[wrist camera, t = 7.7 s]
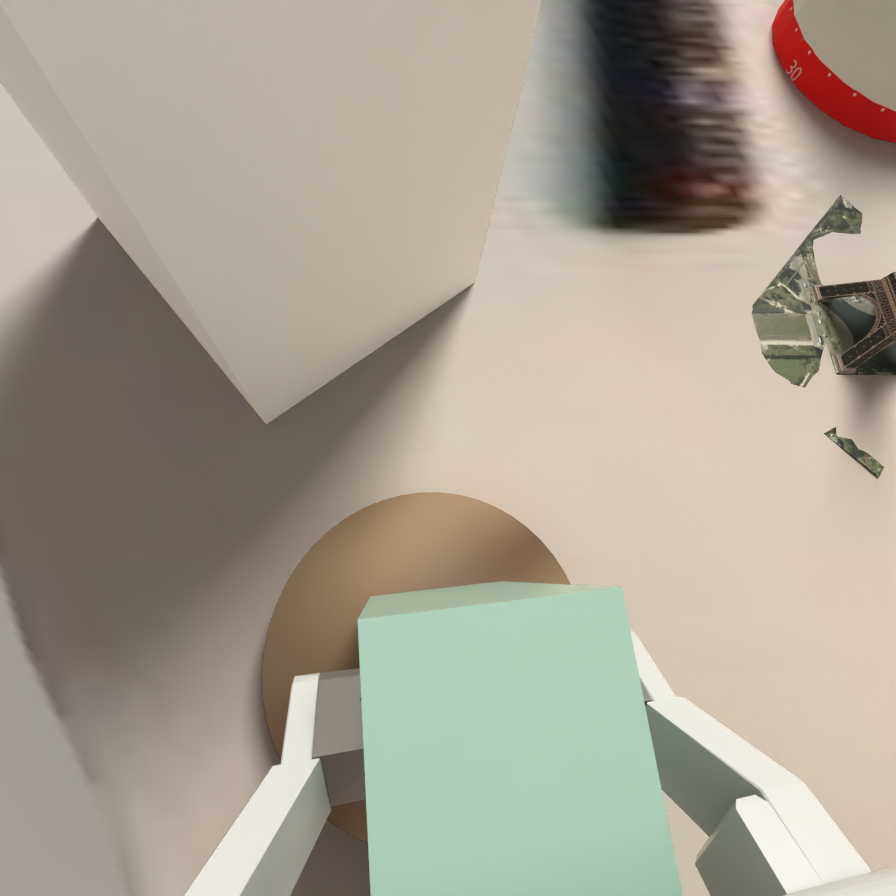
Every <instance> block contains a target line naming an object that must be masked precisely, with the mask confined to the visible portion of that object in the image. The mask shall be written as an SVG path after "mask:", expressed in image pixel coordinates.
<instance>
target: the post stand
mask: <svg viewBox="0 0 896 896" xmlns="http://www.w3.org/2000/svg"><path fill="white" fill-rule="evenodd" d="M499 581H506V582H526V583H546V584H566V585H571V584H570V582H569V580H568V578H567V576H566V574H565V572H564V571H563V569H562V568H561V566H560V565H559V563H558V562H557V560H556V558H555V557H554V556H553V554H552V553H551V552H550V551H549V550H548V548H547V547H546V546H545V545H544V543H543V542H542V541H541V540H540V539H539V538H538V537H537V536H536V535H535V534H534V533H532V532H531V531H530V530H529V529H528V528H527V527H526V526H524V525H523V524H522V523H520V522H519V521H518V520H516V519H515V518H514V517H512V516H511V515H509V514H507V513H505V512H503V511H502V510H500V509H498V508H496V507H494V506H492V505H489V504H487V503H484V502H482V501H479V500H477V499H473V498H469V497H465V496H461V495H456V494H447V493H415V494H408V495H401V496H397V497H394V498H390V499H386V500H383V501H380V502H378V503H375V504H373V505H370V506H368V507H366V508H363V509H361V510H360V511H358V512H356V513H354V514H353V515H351V516H349V517H348V518H346V519H344V520H343V521H342V522H340V523H339V524H338V525H336V526H335V527H334V528H332V529H331V530H330V531H328V532H327V533H326V534H325V535H324V536H323V537H322V538H321V539H320V540H319V541H318V542H317V543H316V544H315V545H314V546H313V547H312V548H311V549H310V550H309V552H308V553H307V554H306V555H305V557H304V558H303V559H302V560H301V562H300V563H299V564H298V565H297V567H296V569H295V570H294V572H293V574H292V575H291V577H290V578H289V580H288V582H287V583H286V585H285V587H284V589H283V591H282V593H281V596H280V598H279V600H278V602H277V604H276V607H275V610H274V613H273V616H272V619H271V622H270V625H269V628H268V633H267V638H266V643H265V648H264V654H263V669H262V688H263V703H264V709H265V714H266V719H267V725H268V729H269V732H270V735H271V738H272V741H273V744H274V747H275V750H276V752H277V754H278V756H279V758H280V760H281V757H282V750H283V743H284V736H285V729H286V721H287V714H288V707H289V700H290V693H291V686H292V683H293V680H294V677H295V676H300V675H307V674H314V673H324V672H332V671H340V670H348V669H355V668H360V661H359V639H358V618H359V616H360V614H361V613H362V611H363V609H364V607H365V605H366V604H367V602H368V600H369V598H370V597H371V596H377V595H386V594H394V593H403V592H412V591H421V590H429V589H438V588H447V587H456V586H464V585H473V584H482V583H491V582H499ZM330 808H331V811H330V814H329V816H328V818H327V820H329V821H330V822H331V823H332V824H334V825H335V826H336V827H338V828H340V829H342V830H343V831H345V832H347V833H349V834H350V835H352V836H354V837H356V838H358V839H360V840H363V841H366V842H368V831H367V810H366V799H364V800H360V801H355V802H351V803H346V804H341V805H337V806H332V807H330Z"/></svg>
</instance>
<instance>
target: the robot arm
mask: <svg viewBox="0 0 896 896" xmlns="http://www.w3.org/2000/svg"><path fill="white" fill-rule="evenodd" d="M630 632H631V637H632V642H633V647H634V652H635V657H636V662H637V667H638V672H639V677H640V682H641V688H642V693H643V698H644V703H645V708H646V713H647V718H648V723H649V728H650V733H651V738H652V743H653V749H654V754H655V759H656V764H657V769H658V774H659V779H660V784H661V789H662V790H663V791H664V792H665V793H666V794H667V795H668V796H669V797H670V798H671V799H672V800H673V801H674V802H675V803H676V804H677V805H678V806H679V807H680V808H681V809H682V810H683V811H684V812H685V813H686V814H687V815H688V816H689V817H690V818H691V819H692V820H693V821H694V822H695V823H696V824H697V825H698V826H699V827H700V828H701V829H702V830H703V831H704V832H705V833H706V834H707V835H708V836H709V839H708V840H707V841H706V843H705V844H704V846H703V847H702V849H701V850H700V851H699V853H698V854H697V858H696V862H695V865H696V867H697V869H698V871H699V873H700V875H701V877H702V879H703V881H704V883H705V885H706V887H707V889H708V891H709V893H710V895H711V896H896V866H893V867H889V868H885V869H881V870H877V871H873V872H872V871H871V870H870V869H869V867H868V866H867V865H866V863H865V862H864V861H863V859H862V858H861V857H860V855H859V854H858V853H857V852H856V850H855V849H854V848H853V846H852V845H851V844H850V842H849V841H848V840H847V838H846V837H845V836H844V834H843V833H842V832H841V830H840V829H839V828H838V826H837V825H836V824H835V823H834V821H833V820H832V819H831V817H830V816H829V815H828V813H827V812H826V811H825V809H824V808H823V807H822V805H821V804H820V803H819V801H818V800H817V799H816V797H815V796H814V795H813V794H812V792H811V791H810V790H809V788H808V787H807V786H806V784H805V783H804V782H803V781H801V780H800V779H798V778H797V777H796V776H794V775H793V774H791V773H790V772H789V771H787V770H786V769H784V768H783V767H782V766H780V765H779V764H777V763H776V762H774V761H773V760H772V759H770V758H769V757H767V756H766V755H765V754H763V753H762V752H760V751H759V750H757V749H756V748H755V747H753V746H752V745H750V744H749V743H748V742H746V741H745V740H743V739H742V738H741V737H739V736H738V735H736V734H735V733H733V732H732V731H731V730H729V729H728V728H726V727H725V726H724V725H722V724H721V723H719V722H718V721H717V720H715V719H714V718H712V717H711V716H709V715H708V714H707V713H705V712H704V711H702V710H701V709H700V708H698V707H697V706H695V705H694V704H693V703H691V702H690V701H688V700H687V699H685V698H684V697H676V696H675V694H674V693H673V691H672V690H671V688H670V687H669V685H668V683H667V682H666V680H665V679H664V677H663V676H662V674H661V672H660V671H659V669H658V668H657V666H656V665H655V663H654V662H653V660H652V658H651V657H650V655H649V654H648V652H647V651H646V649H645V648H644V646H643V644H642V643H641V641H640V640H639V638H638V637H637V635H636V634H635V633H634V632H633V631H631V630H630ZM364 799H366V789H365V767H364V746H363V725H362V703H361V682H360V668H355V669H348V670H340V671H332V672H324V673H314V674H307V675H300V676H295V677H294V680H293V683H292V686H291V693H290V700H289V707H288V714H287V721H286V729H285V736H284V743H283V750H282V757H281V764H279V765H274V766H272V767H271V769H270V770H269V772H268V773H267V775H266V776H265V778H264V779H263V781H262V782H261V784H260V785H259V786H258V788H257V789H256V791H255V792H254V794H253V795H252V797H251V798H250V800H249V801H248V803H247V804H246V806H245V807H244V809H243V810H242V811H241V813H240V814H239V816H238V817H237V819H236V820H235V822H234V823H233V825H232V826H231V828H230V829H229V831H228V832H227V834H226V835H225V836H224V838H223V839H222V841H221V842H220V844H219V845H218V847H217V848H216V850H215V851H214V853H213V854H212V856H211V857H210V859H209V860H208V861H207V863H206V864H205V866H204V867H203V869H202V870H201V872H200V873H199V875H198V876H197V878H196V879H195V881H194V882H193V884H192V885H191V886H190V888H189V889H188V891H187V892H186V894H185V895H184V896H290V895H291V893H292V891H293V889H294V887H295V885H296V883H297V880H298V878H299V876H300V874H301V872H302V870H303V868H304V866H305V864H306V862H307V860H308V857H309V855H310V853H311V851H312V849H313V847H314V845H315V843H316V841H317V839H318V837H319V834H320V832H321V830H322V828H323V826H324V824H325V822H326V820H327V818H328V816H329V814H330V811H331V808H330V807H332V806H337V805H341V804H346V803H351V802H355V801H360V800H364Z"/></svg>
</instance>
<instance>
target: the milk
mask: <svg viewBox="0 0 896 896" xmlns="http://www.w3.org/2000/svg"><path fill="white" fill-rule="evenodd" d="M541 4H542V0H0V83H1V84H2V85H3V87H4V88H5V89H6V91H7V92H8V94H9V95H10V96H11V98H12V99H13V101H14V102H15V103H16V105H17V106H18V107H19V109H20V110H21V112H22V113H23V114H24V116H25V117H26V119H27V120H28V121H29V123H30V124H31V125H32V127H33V128H34V130H35V131H36V132H37V134H38V135H39V137H40V138H41V139H42V141H43V142H44V143H45V145H46V146H47V148H48V149H49V150H50V152H51V153H52V155H53V156H54V157H55V159H56V160H57V161H58V163H59V164H60V166H61V167H62V168H63V170H64V171H65V172H66V174H67V175H68V177H69V178H70V179H71V181H72V182H73V184H74V185H75V186H76V188H77V189H78V190H79V192H80V193H81V195H82V196H83V197H84V199H85V200H86V202H87V203H88V204H89V206H90V207H91V208H92V210H93V211H94V213H95V214H96V215H97V217H98V218H99V219H100V221H101V222H102V223H103V224H104V225H105V227H106V228H107V229H108V230H109V232H110V233H111V234H112V235H113V237H114V238H115V239H116V240H117V241H118V243H119V244H120V245H121V246H122V248H123V249H124V250H125V251H126V253H127V254H128V255H129V256H130V257H131V259H132V260H133V261H134V262H135V264H136V265H137V266H138V267H139V269H140V270H141V271H142V272H143V273H144V275H145V276H146V277H147V278H148V280H149V281H150V282H151V283H152V285H153V286H154V287H155V288H156V289H157V291H158V292H159V293H160V294H161V296H162V297H163V298H164V299H165V300H166V302H167V303H168V304H169V305H170V307H171V308H172V309H173V310H174V312H175V313H176V314H177V315H178V316H179V318H180V319H181V320H182V321H183V323H184V324H185V325H186V326H187V328H188V329H189V330H190V331H191V332H192V334H193V335H194V336H195V337H196V339H197V340H198V341H199V342H200V344H201V345H202V346H203V347H204V348H205V350H206V351H207V352H208V353H209V355H210V356H211V357H212V358H213V360H214V361H215V362H216V363H217V364H218V366H219V367H220V368H221V369H222V371H223V372H224V373H225V374H226V376H227V377H228V378H229V379H230V380H231V382H232V383H233V384H234V385H235V387H236V388H237V389H238V390H239V392H240V393H241V394H242V395H243V396H244V398H245V399H246V400H247V401H248V403H249V404H250V405H251V406H252V408H253V409H254V410H255V411H256V412H257V414H258V415H259V416H260V417H261V419H262V420H263V421H264V422H265V424H268V423H269V422H271V421H272V420H274V419H275V418H277V417H278V416H279V415H281V414H282V413H284V412H285V411H287V410H288V409H290V408H291V407H293V406H294V405H296V404H297V403H299V402H300V401H301V400H303V399H304V398H306V397H307V396H309V395H310V394H312V393H313V392H315V391H316V390H318V389H319V388H321V387H322V386H323V385H325V384H326V383H328V382H329V381H331V380H332V379H334V378H335V377H337V376H338V375H340V374H341V373H343V372H344V371H345V370H347V369H348V368H350V367H351V366H353V365H354V364H356V363H357V362H359V361H360V360H362V359H363V358H365V357H366V356H367V355H369V354H370V353H372V352H373V351H375V350H376V349H378V348H379V347H381V346H382V345H384V344H385V343H387V342H388V341H389V340H391V339H392V338H394V337H395V336H397V335H398V334H400V333H401V332H403V331H404V330H406V329H407V328H409V327H410V326H411V325H413V324H414V323H416V322H417V321H419V320H420V319H422V318H423V317H425V316H426V315H428V314H429V313H431V312H432V311H434V310H435V309H436V308H438V307H439V306H441V305H442V304H444V303H445V302H447V301H448V300H450V299H451V298H453V297H454V296H456V295H457V294H458V293H460V292H461V291H463V290H464V289H466V288H467V287H469V286H470V285H472V284H473V283H475V280H476V276H477V272H478V268H479V264H480V259H481V255H482V251H483V247H484V243H485V238H486V234H487V230H488V226H489V222H490V218H491V213H492V209H493V205H494V201H495V197H496V192H497V188H498V184H499V180H500V176H501V172H502V167H503V163H504V159H505V155H506V151H507V146H508V142H509V138H510V134H511V130H512V126H513V121H514V117H515V113H516V109H517V105H518V100H519V96H520V92H521V88H522V84H523V80H524V75H525V71H526V67H527V63H528V59H529V54H530V50H531V46H532V42H533V38H534V34H535V29H536V25H537V21H538V17H539V13H540V8H541Z"/></svg>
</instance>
